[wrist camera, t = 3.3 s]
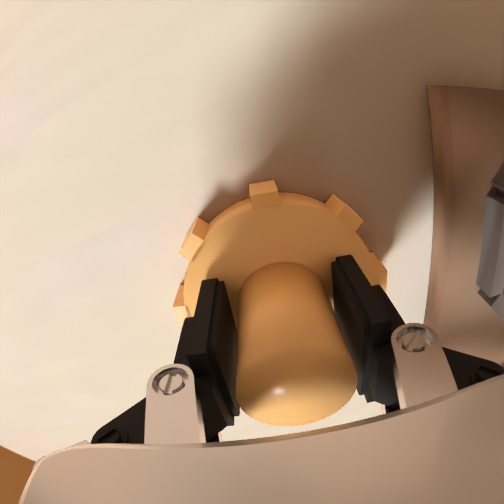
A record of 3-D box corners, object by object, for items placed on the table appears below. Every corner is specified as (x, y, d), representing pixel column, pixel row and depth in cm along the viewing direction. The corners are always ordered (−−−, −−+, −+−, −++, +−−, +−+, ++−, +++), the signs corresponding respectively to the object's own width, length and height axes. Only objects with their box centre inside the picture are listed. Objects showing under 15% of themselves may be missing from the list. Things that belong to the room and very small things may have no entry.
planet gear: (154, 203, 12) (87, 285, 6) (368, 165, 11) (460, 221, 6) (207, 362, 15) (195, 469, 10) (371, 334, 15) (415, 432, 9)
